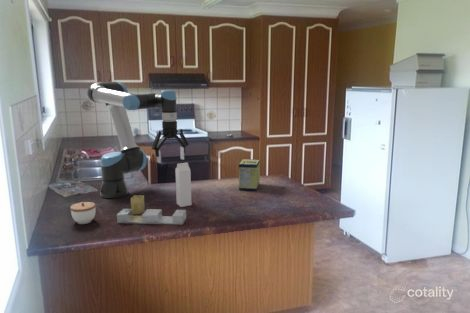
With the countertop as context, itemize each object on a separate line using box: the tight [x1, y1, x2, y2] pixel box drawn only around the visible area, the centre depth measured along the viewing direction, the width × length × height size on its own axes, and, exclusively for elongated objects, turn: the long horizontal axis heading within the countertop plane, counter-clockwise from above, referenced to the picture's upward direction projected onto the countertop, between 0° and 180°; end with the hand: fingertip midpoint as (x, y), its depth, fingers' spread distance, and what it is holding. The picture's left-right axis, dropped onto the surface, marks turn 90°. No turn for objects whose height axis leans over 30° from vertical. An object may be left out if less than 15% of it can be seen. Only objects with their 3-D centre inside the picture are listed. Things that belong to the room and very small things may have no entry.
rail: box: [116, 208, 187, 225], centre depth 175 cm, size 30×8×4 cm, turn 86°
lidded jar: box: [69, 201, 97, 225], centre depth 174 cm, size 11×11×9 cm
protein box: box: [238, 158, 261, 192], centre depth 226 cm, size 10×16×16 cm
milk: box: [174, 162, 193, 208], centre depth 195 cm, size 6×6×22 cm
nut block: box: [130, 194, 146, 216], centre depth 185 cm, size 5×5×8 cm
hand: (171, 160), depth 200 cm, fingers open, 13 cm apart
